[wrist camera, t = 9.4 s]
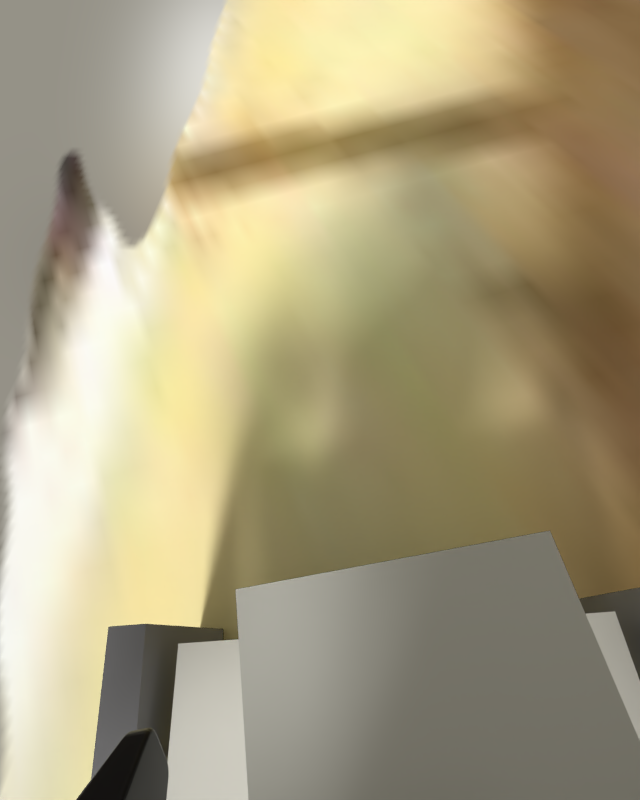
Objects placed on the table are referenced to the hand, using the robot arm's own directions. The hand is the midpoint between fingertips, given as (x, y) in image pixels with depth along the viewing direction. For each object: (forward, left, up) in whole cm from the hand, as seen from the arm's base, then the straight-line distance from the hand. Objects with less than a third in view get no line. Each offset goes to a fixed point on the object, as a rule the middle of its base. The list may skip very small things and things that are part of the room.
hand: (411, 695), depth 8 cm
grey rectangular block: (-1, 0, -5) cm, 5 cm away
